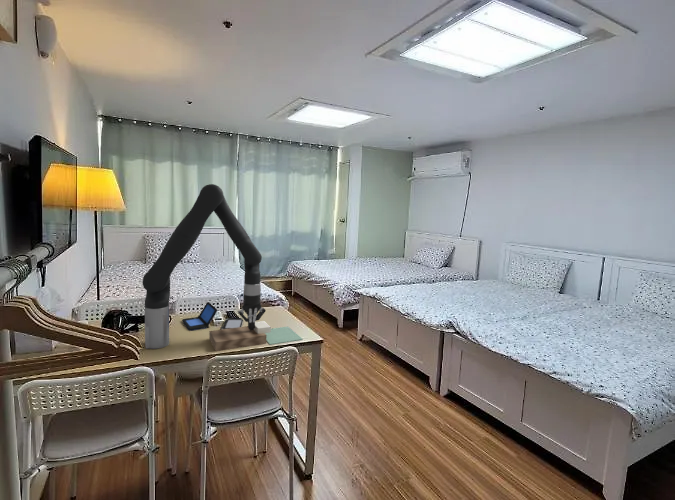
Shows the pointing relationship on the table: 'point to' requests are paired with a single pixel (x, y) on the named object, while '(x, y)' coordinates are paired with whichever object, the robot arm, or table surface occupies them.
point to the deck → (235, 338)
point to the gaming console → (232, 323)
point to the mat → (282, 335)
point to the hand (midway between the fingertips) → (251, 329)
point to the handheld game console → (201, 318)
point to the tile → (262, 327)
